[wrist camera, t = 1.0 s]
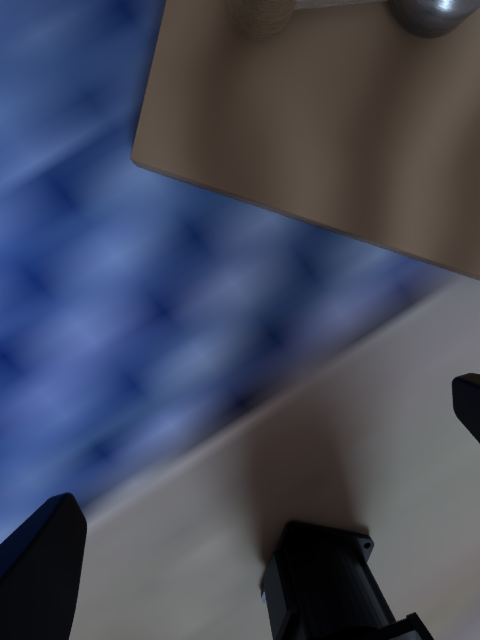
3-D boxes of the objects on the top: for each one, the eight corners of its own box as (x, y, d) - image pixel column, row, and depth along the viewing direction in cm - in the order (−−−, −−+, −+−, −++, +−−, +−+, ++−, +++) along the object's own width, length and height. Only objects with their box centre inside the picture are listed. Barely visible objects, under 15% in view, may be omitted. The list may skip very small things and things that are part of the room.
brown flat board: (658, -26, 19) (703, -53, 17) (516, 292, 22) (542, 296, 20) (234, -258, 15) (238, -320, 13) (136, 166, 18) (129, 157, 16)
